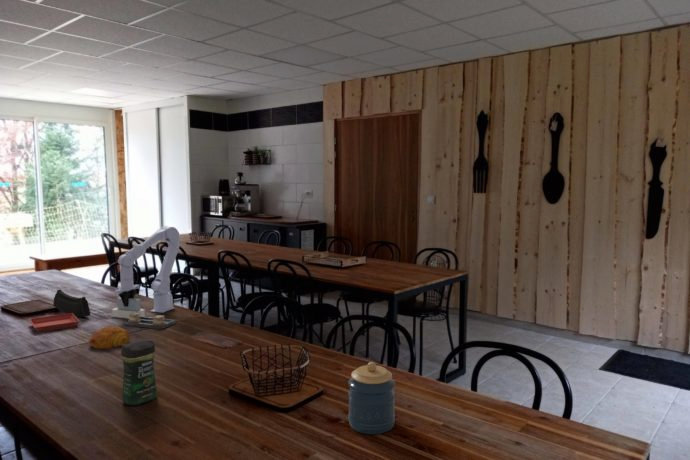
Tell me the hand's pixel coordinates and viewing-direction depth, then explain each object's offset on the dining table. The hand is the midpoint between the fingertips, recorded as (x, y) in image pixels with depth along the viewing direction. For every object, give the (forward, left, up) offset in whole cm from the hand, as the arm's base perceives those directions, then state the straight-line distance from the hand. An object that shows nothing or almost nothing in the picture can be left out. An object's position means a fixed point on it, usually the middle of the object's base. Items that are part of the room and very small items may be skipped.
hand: (128, 305), depth 246 cm
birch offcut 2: (+9, +26, -6) cm, 28 cm away
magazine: (+5, -31, -6) cm, 32 cm away
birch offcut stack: (+9, +12, -6) cm, 16 cm away
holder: (0, 0, -6) cm, 6 cm away
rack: (+7, +19, -6) cm, 21 cm away
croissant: (+36, +22, -6) cm, 42 cm away
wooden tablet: (+17, +61, -6) cm, 64 cm away
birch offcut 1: (+9, +26, -3) cm, 28 cm away
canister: (+66, +144, -6) cm, 159 cm away
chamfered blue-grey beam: (0, 0, -4) cm, 4 cm away
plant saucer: (+23, -22, -6) cm, 32 cm away
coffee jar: (+74, +72, -6) cm, 104 cm away
